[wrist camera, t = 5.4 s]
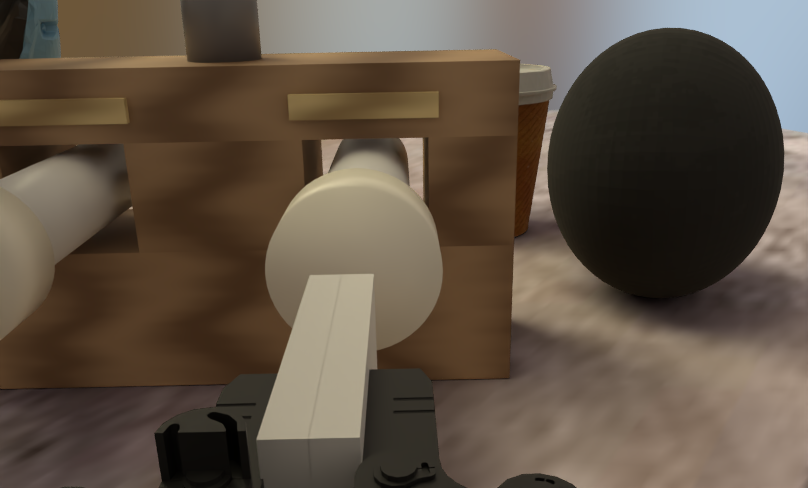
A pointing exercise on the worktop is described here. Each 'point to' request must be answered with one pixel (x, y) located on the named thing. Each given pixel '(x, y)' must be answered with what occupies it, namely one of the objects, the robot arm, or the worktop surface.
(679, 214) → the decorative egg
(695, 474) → the worktop surface
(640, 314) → the worktop surface
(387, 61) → the mount
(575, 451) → the worktop surface
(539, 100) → the disposable coffee cup
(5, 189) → the knob
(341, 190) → the knob
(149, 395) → the worktop surface
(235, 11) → the grey bottle
